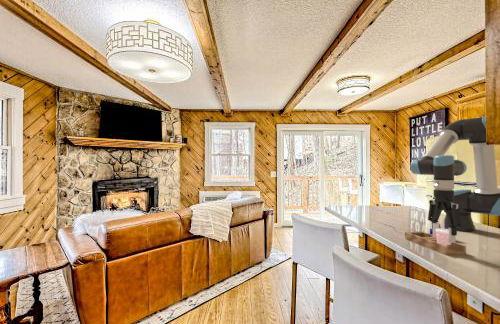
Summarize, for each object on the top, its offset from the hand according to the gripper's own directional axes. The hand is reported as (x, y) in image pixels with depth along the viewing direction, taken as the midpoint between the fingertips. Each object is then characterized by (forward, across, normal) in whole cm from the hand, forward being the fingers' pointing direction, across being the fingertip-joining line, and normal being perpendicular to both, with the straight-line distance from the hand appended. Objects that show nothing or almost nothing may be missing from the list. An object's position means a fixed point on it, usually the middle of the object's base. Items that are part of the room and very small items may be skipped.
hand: (443, 239), depth 118 cm
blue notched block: (+5, -19, +17) cm, 26 cm away
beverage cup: (+5, 0, 0) cm, 5 cm away
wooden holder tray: (+5, -6, 0) cm, 8 cm away
